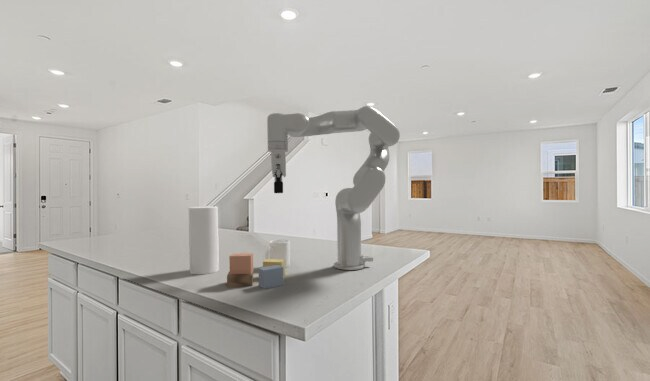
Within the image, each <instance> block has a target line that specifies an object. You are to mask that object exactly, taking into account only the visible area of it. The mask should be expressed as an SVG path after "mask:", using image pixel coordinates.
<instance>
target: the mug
mask: <svg viewBox="0 0 650 381" xmlns="http://www.w3.org/2000/svg"><path fill="white" fill-rule="evenodd" d="M264 257H265V260H266V259H279V260H285V269H286V268H289V267H290V266H291V241H290V240H289V239H273V240H270V241H269V247H268V248H267V249H266V252H265V256H264Z"/></svg>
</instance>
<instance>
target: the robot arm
mask: <svg viewBox="0 0 650 381" xmlns="http://www.w3.org/2000/svg"><path fill="white" fill-rule="evenodd" d="M266 118H267V120H266V123H267V124H266V125H267V129H266V130H267V132H266V133H267V152H269V153H270V160H271V161H270V162H271V163H270V164H271V174H272V175H271V176H272V177H273V178H274V182H273V192H274V194H283V193H284V182H283V178H286V176H287V168H286V166H287V165H286V164H287V163H286V162H287V159H286V153H287V152H289V144H288V143H289V138H288V137H289V136H290V137H292V138H304V137H313V136H321V135H330V134H341V133H353V132H354V133H355V132H356V133H357V132H362V131H365V130H368V131H369V136H368V145H369V152H370V153H369V155H368V157H367V158H366V160H365V161H364V163H363V164H362V165H361V166H360V168H359V169H358V170H357V171H356V172H355V173H354V176H353V179H352V183H353V187H347V188H345V187H344V188H343V189H340V191H338V192H337V194H336V196H335V212H336V220H337V222H336V225H337V227H336V231H337V232H336V234H337V237H336V238H337V244H336V246H337V261H335V262H334V263H333V267H334V268H335V269H338V270H342V271H343V270H344V271H357V270H362V269H364V268H365V267H366V262H370V263H371V262H374V257H373V256H366V255H365V256H364V255H363V254H362V221H361V220H362V218H361V213H363V212H365V211H366V210H368V208H369V207H370V206H371V205H372V203H373V202H374V201H375V199H377V197H378V195H379V194H380V193H381V191H382V190H383V189H384V186H385V184H386V174H385V172H384V171H385V170H386V168H387V167H388V165H389V162H390V150H389V147H393V146H395V145H396V144H397V143H398V142H399V140H400V138H401V137H400V136H401V135H400V130H399V128H398V127H397V126H396V125H395V124H394V123H393V122H392V121H391V120H389V119H388V118H387V117H386V116H385V115H383V114H382V113H381V112H380V111H379V110H378V109H376V108H374V107H372V106H371V105H364V106H362V107H360V108H358V109H353V110H336V111H335V110H333V111H329V112H325V113H323V114H320V115H317V116H312V117H307V116H306V115H305V114H304V113H299V112H298V113H297V112H295V113H285V114H284V113H280V112H279V113H276V112H275V113H270V114H269V115H268V116H267V117H266Z"/></svg>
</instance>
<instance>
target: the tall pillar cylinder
mask: <svg viewBox="0 0 650 381" xmlns="http://www.w3.org/2000/svg"><path fill="white" fill-rule="evenodd" d="M188 240H189V241H188V246H189V248H188V249H189V273H190V274H191V275H209V274H213V273H216V272H218V271H220V261H219V260H220V257H219V256H220V255H219V254H220V253H219V252H220V251H219V250H220V249H219V247H220V246H219V206H217V205H216V206H215V205H213V206H212V205H211V206H189V207H188Z"/></svg>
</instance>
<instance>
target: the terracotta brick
mask: <svg viewBox="0 0 650 381" xmlns="http://www.w3.org/2000/svg"><path fill="white" fill-rule="evenodd" d="M228 260H229V271H230V274H251V273H252V272H253V273H254V253H248V252H247V253H232V254H230V255H229V259H228Z"/></svg>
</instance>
